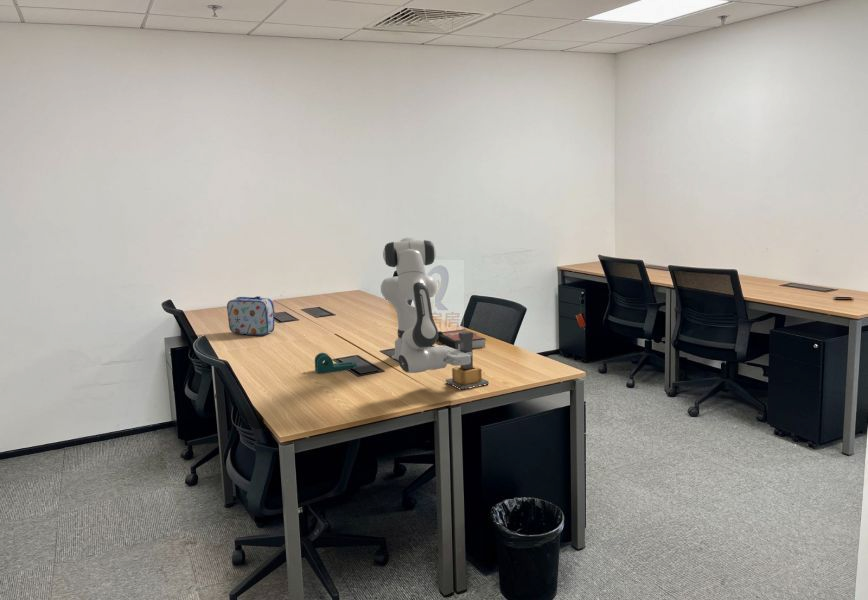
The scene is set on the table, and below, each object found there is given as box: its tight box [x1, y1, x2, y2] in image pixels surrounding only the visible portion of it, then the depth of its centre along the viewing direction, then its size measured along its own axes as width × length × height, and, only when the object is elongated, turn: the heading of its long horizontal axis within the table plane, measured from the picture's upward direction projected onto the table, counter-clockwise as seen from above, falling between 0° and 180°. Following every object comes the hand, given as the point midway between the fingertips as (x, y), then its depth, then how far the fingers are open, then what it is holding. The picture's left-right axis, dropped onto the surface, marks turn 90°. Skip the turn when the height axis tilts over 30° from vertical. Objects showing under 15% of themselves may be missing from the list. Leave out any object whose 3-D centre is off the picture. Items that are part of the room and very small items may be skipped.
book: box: [436, 329, 487, 350], centre depth 351 cm, size 26×18×5 cm
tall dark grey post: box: [459, 330, 474, 371], centre depth 280 cm, size 5×3×18 cm, turn 118°
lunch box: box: [226, 296, 277, 336], centre depth 387 cm, size 28×10×22 cm, turn 73°
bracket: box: [314, 352, 357, 375], centre depth 309 cm, size 18×7×8 cm, turn 111°
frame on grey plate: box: [445, 365, 489, 389], centre depth 281 cm, size 13×12×6 cm
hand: (468, 352), depth 280 cm, fingers open, 3 cm apart
